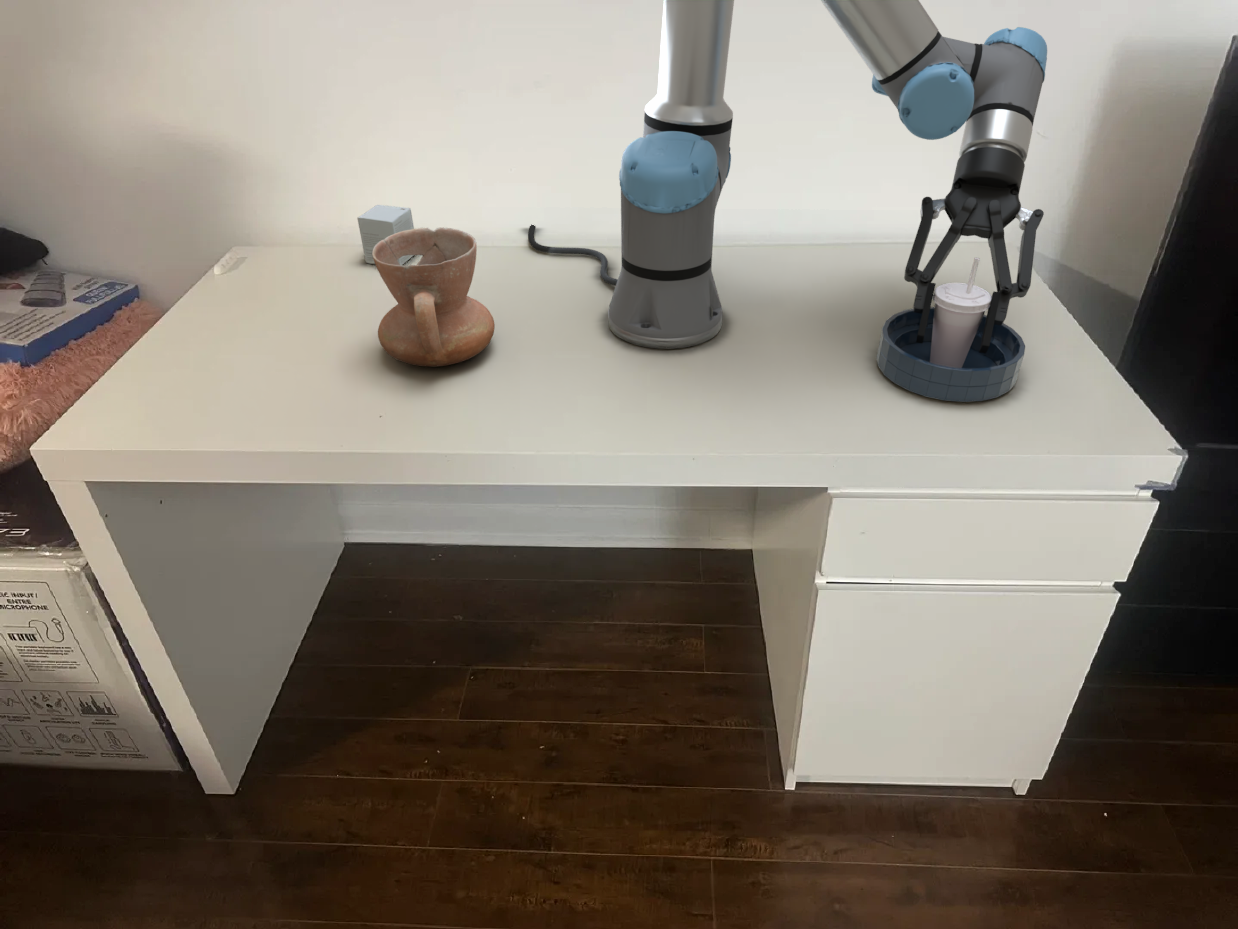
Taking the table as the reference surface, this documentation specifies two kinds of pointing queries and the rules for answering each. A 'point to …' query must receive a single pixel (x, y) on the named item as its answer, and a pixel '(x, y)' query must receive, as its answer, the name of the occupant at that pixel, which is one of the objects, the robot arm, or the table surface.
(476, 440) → the table surface
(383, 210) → the product box
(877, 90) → the robot arm
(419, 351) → the ceramic jug
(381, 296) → the table surface
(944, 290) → the smoothie
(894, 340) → the bowl
